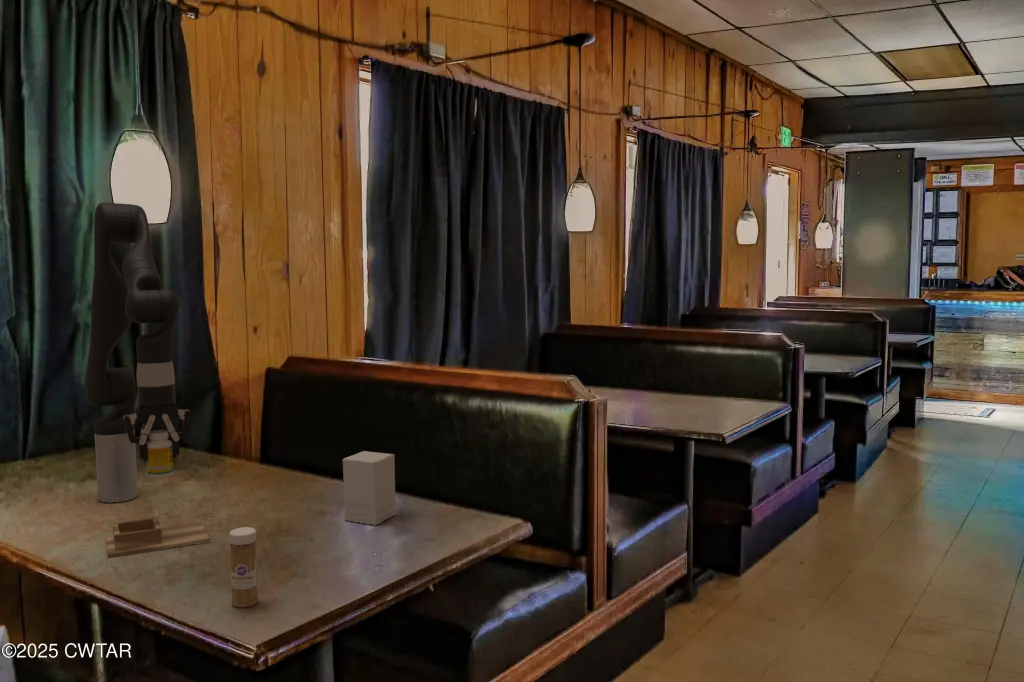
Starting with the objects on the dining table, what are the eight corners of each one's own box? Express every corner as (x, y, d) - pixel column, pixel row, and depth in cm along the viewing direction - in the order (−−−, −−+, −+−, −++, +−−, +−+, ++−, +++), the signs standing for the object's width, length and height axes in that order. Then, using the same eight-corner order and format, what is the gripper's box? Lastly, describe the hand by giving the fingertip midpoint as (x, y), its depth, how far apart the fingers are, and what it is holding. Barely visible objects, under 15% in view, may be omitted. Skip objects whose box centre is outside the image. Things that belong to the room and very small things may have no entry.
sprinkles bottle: (232, 610, 149) (229, 536, 148) (231, 600, 154) (228, 528, 152) (259, 606, 151) (257, 532, 150) (257, 596, 155) (255, 525, 154)
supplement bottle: (146, 473, 187) (144, 430, 186) (172, 470, 189) (170, 428, 188) (148, 479, 182) (146, 435, 181) (175, 476, 184) (173, 432, 183)
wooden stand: (105, 540, 185) (104, 522, 185) (202, 526, 194) (201, 509, 194) (107, 557, 175) (106, 539, 174) (210, 542, 184) (209, 524, 183)
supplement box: (397, 515, 202) (396, 453, 201) (375, 526, 194) (374, 462, 193) (365, 510, 206) (364, 449, 204) (343, 521, 198) (341, 458, 196)
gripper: (188, 377, 190) (191, 451, 192) (117, 382, 183) (122, 459, 185) (193, 382, 184) (197, 459, 185) (121, 387, 177) (125, 467, 178)
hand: (159, 458), depth 185 cm, fingers closed on supplement bottle, 5 cm apart
